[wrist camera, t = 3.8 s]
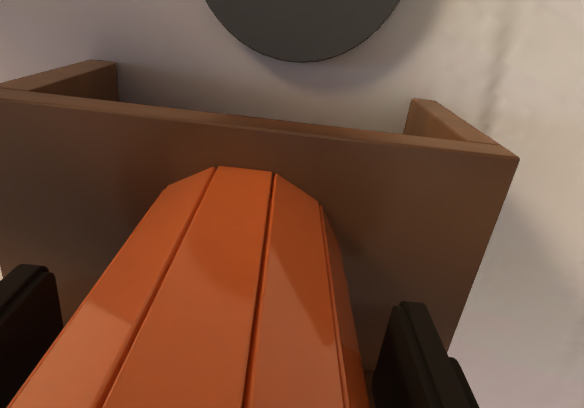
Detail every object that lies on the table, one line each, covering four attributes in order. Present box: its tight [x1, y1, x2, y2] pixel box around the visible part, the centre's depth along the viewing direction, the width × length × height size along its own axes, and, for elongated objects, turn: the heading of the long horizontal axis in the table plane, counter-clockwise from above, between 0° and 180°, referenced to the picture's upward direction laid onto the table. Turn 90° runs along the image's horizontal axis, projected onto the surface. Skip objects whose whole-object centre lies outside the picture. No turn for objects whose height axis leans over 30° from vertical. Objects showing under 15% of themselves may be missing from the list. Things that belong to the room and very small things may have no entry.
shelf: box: [0, 60, 520, 408], centre depth 16 cm, size 10×16×12 cm, turn 83°
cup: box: [6, 166, 370, 408], centre depth 9 cm, size 6×6×9 cm
